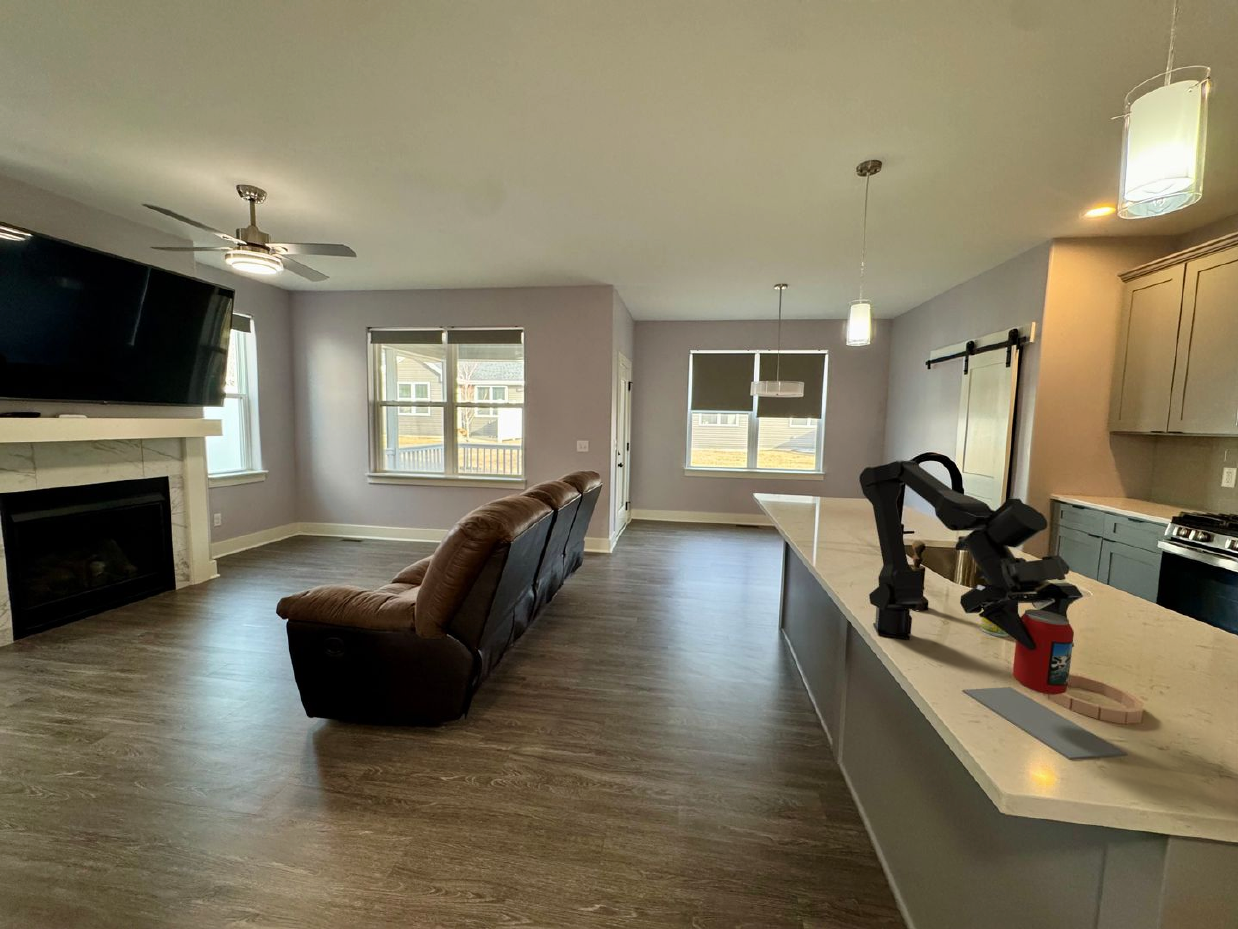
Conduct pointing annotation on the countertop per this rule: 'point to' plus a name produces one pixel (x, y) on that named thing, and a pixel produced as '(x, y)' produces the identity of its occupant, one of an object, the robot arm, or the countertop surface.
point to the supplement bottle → (992, 628)
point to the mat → (1044, 724)
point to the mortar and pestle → (917, 559)
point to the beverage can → (1045, 653)
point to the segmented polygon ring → (1098, 711)
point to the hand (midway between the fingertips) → (1052, 648)
